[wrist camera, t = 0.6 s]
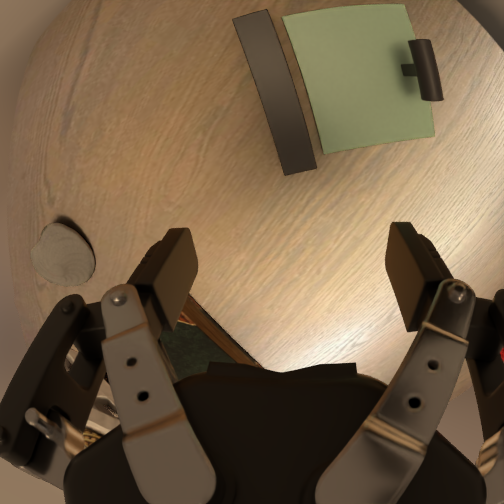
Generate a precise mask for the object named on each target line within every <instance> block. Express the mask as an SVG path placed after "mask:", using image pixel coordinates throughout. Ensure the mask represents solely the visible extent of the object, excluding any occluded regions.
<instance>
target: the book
mask: <svg viewBox="0 0 504 504" xmlns="http://www.w3.org/2000/svg"><path fill="white" fill-rule="evenodd" d="M160 339H161V341H162V343H163V346H164V348H165V350H166V353H167V355H168V357H169V359H170V362H171V364H172V366H173V368H174V370H175V372H176V375H177V377H178V378H179V380H181V379H183V378H186V377H188V376H191V375H194V374H197V373H201V372H207V369H208V365H209V361H212V362H226V363H244V364H248V365H251V366H255V367H259V368H262V367H261V366H260V365H259V364H258V363H257V362H256V361H255V360H254V359H253V358H252V357H251V356H249V355H248V354H247V353H246V352H245V351H244V350H243V349H242V348H241V347H240V346H239V345H238V344H237V343H236V342H235V341H234V340H233V339H232V338H231V337H230V336H229V335H228V334H227V333H226V332H225V331H224V330H223V329H222V328H221V327H220V326H219V325H218V324H217V323H216V322H215V321H214V320H213V319H212V318H211V317H210V316H209V315H208V314H207V313H206V312H205V311H204V310H203V309H202V308H201V307H200V306H199V305H198V304H197V303H196V302H195V301H194V300H193V299H192V298H191V297H190V296H189V295H188V297H187V299H186V302H185V304H184V306H183V309H182V311H181V314H180V316H179V319H178V321H177V324H176V326H175V329H174V331H173V332H161V335H160Z"/></svg>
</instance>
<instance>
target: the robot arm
mask: <svg viewBox="0 0 504 504" xmlns="http://www.w3.org/2000/svg"><path fill="white" fill-rule="evenodd" d="M385 267H386V271H387V274H388V277H389V279H390V282H391V285H392V288H393V290H394V293H395V296H396V299H397V302H398V305H399V308H400V311H401V314H402V317H403V320H404V324H405V327H406V330H407V332H414V331H418V333H417V335H416V337H415V339H414V341H413V343H412V345H411V347H410V348H409V350H408V352H407V354H406V356H405V358H404V360H403V361H402V363H401V365H400V367H399V369H398V370H397V372H396V374H395V375H394V377H393V379H392V380H391V382H390V384H389V385H387V384H385V383H384V382H382V381H380V380H378V379H376V378H373V377H371V376H368V375H364V374H359V373H357V368H356V363H340V364H319V365H315V366H311V367H306V368H302V369H298V370H293V371H288V372H283V373H282V372H275V371H271V370H267V369H263V368H259V367H255V366H251V365H248V364H244V363H226V362H212V361H209V365H208V369H207V372H201V373H197V374H194V375H191V376H188V377H186V378H183V379H181V380H179V378H178V377H177V375H176V372H175V370H174V368H173V366H172V364H171V362H170V359H169V357H168V355H167V353H166V350H165V348H164V346H163V343H162V341H161V339H160V335H161V332H173V331H174V329H175V326H176V324H177V321H178V319H179V316H180V314H181V311H182V309H183V306H184V304H185V302H186V299H187V297H188V294H189V292H190V289H191V287H192V285H193V282H194V280H195V277H196V275H197V272H198V259H197V255H196V251H195V247H194V243H193V239H192V235H191V232H190V230H189V228H171V229H169V230H168V232H167V233H166V235H165V236H164V238H163V239H162V240H161V241H158V242H157V243H156V244H154V245H153V246H152V247H150V249H149V250H148V251H147V253H146V254H145V257H143V259H142V260H141V262H140V264H139V265H138V266H137V268H136V269H135V271H134V272H133V274H132V275H131V277H130V278H129V280H128V281H127V283H126V284H120V285H117V286H115V287H113V288H111V289H110V290H108V291H107V292H106V293H105V294H104V295H103V297H102V299H101V301H100V302H96V303H91V304H86V303H85V301H84V300H83V298H82V296H80V295H78V294H72V295H69V296H66V297H65V298H63V299H62V300H60V301H59V302H58V303H57V305H56V306H55V307H54V309H53V310H52V312H51V313H50V315H49V316H48V318H47V320H46V321H45V323H44V324H43V326H42V327H41V329H40V331H39V332H38V334H37V336H36V337H35V339H34V341H33V342H32V344H31V346H30V347H29V349H28V351H27V353H26V354H25V356H24V358H23V360H22V362H21V363H20V365H19V367H18V369H17V371H16V373H15V375H14V377H13V378H12V380H11V382H10V384H9V386H8V388H7V390H6V392H5V395H4V397H3V399H2V401H1V403H0V457H2V458H4V459H5V460H7V461H8V462H10V463H11V464H12V465H14V466H15V467H17V468H18V469H20V470H22V471H24V472H26V473H28V474H30V475H32V476H34V477H36V478H38V479H42V480H44V481H46V482H48V483H50V484H52V485H54V486H56V487H58V488H59V489H61V490H63V491H64V497H65V502H66V504H504V363H503V360H502V357H501V354H500V352H501V350H502V349H503V348H504V289H500V290H498V291H497V292H496V294H495V296H494V298H493V300H488V299H483V298H478V297H476V296H475V293H474V291H473V289H472V288H471V287H470V286H469V285H468V284H466V283H465V282H463V281H461V280H458V279H454V278H453V276H452V275H451V273H450V271H449V269H448V268H447V266H446V264H445V263H444V261H443V259H442V258H440V255H439V253H438V251H436V248H435V247H434V245H433V244H432V242H431V241H430V240H429V239H427V238H426V237H425V236H423V235H422V234H418V233H417V231H416V230H415V228H414V227H413V225H412V224H411V223H410V222H392V223H391V225H390V230H389V237H388V243H387V249H386V255H385ZM73 344H74V345H75V347H76V348H77V349H78V351H79V352H78V354H77V356H76V358H75V360H74V362H73V364H72V366H71V369H70V371H69V373H67V371H66V369H65V365H64V362H65V358H66V356H67V354H68V352H69V350H70V348H71V346H72V345H73ZM464 358H466V361H467V364H468V368H469V372H470V375H471V379H472V383H473V387H474V391H475V395H476V399H477V404H478V409H479V414H480V419H481V425H482V431H483V437H484V443H483V445H482V446H481V449H480V451H479V456H478V459H477V460H476V463H475V465H474V464H473V463H472V462H471V461H470V460H469V459H467V458H466V457H465V456H464V455H463V454H462V453H461V452H460V451H459V450H458V449H457V448H456V447H455V446H453V445H452V444H451V443H450V442H449V441H448V440H447V439H446V438H445V437H444V436H443V435H442V434H440V433H439V432H438V431H437V430H436V428H437V426H438V424H439V422H440V420H441V418H442V416H443V413H444V411H445V409H446V407H447V404H448V402H449V399H450V397H451V395H452V392H453V389H454V387H455V384H456V382H457V379H458V376H459V373H460V370H461V367H462V364H463V361H464ZM106 371H107V375H108V379H109V383H110V388H111V392H112V395H113V399H114V403H115V407H116V410H117V414H118V417H119V420H120V424H119V425H118V426H116V427H115V428H114V429H112V430H111V431H109V432H108V433H106V434H105V435H104V436H102V437H101V438H99V439H98V440H96V441H95V442H94V443H92V444H91V445H89V446H88V447H87V446H86V445H85V440H84V436H83V433H84V430H85V427H86V424H87V421H88V418H89V415H90V413H91V410H92V407H93V405H94V402H95V399H96V397H97V394H98V391H99V389H100V386H101V384H102V381H103V379H104V376H105V374H106Z"/></svg>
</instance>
